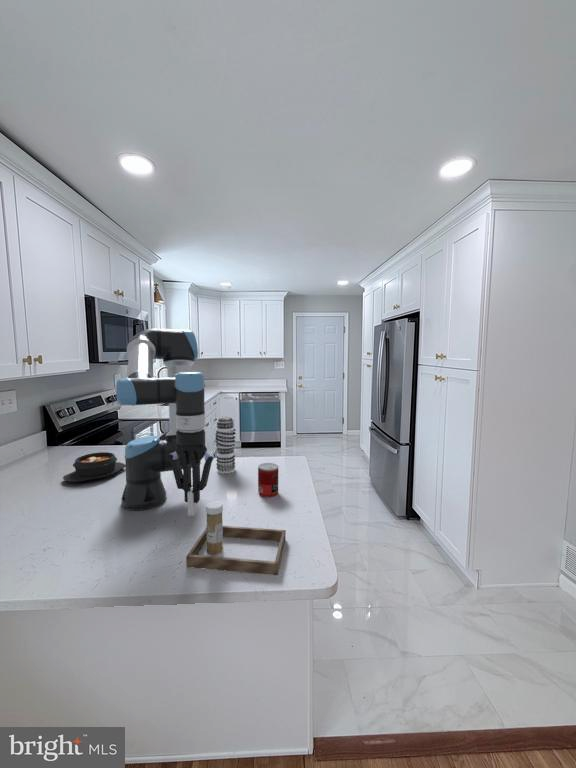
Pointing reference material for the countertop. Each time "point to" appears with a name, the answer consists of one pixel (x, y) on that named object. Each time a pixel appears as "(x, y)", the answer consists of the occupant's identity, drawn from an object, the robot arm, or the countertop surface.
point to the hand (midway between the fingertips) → (192, 513)
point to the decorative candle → (225, 445)
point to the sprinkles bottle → (214, 527)
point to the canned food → (268, 479)
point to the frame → (236, 563)
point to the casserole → (94, 467)
